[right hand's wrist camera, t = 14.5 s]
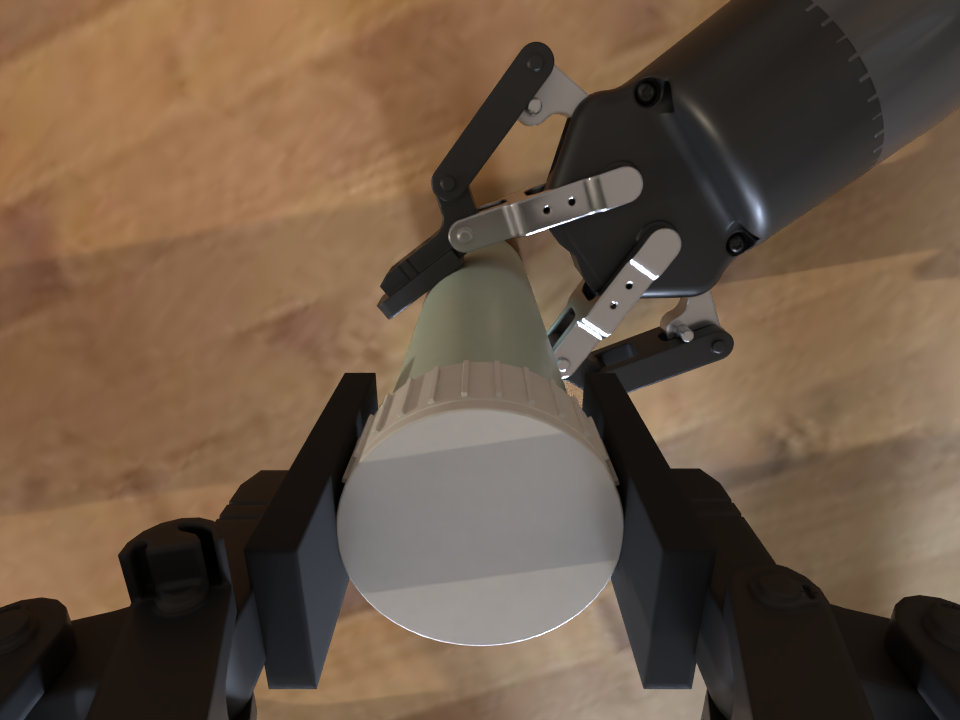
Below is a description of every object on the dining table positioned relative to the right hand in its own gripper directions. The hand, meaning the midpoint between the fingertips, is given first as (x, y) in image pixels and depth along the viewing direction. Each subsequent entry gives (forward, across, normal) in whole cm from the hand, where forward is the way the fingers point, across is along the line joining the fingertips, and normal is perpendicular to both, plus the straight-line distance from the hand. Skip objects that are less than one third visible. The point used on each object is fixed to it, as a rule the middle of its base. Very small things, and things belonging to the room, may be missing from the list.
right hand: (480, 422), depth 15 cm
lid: (-4, 0, 0) cm, 4 cm away
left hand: (+9, -2, -2) cm, 9 cm away
